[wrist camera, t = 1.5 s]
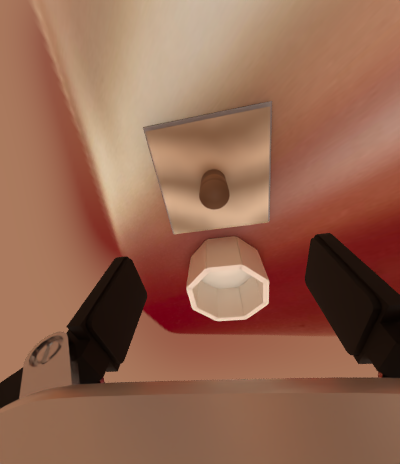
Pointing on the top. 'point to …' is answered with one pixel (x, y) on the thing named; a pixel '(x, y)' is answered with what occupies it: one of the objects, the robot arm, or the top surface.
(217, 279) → the bowl
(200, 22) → the top surface
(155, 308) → the top surface
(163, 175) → the lid
